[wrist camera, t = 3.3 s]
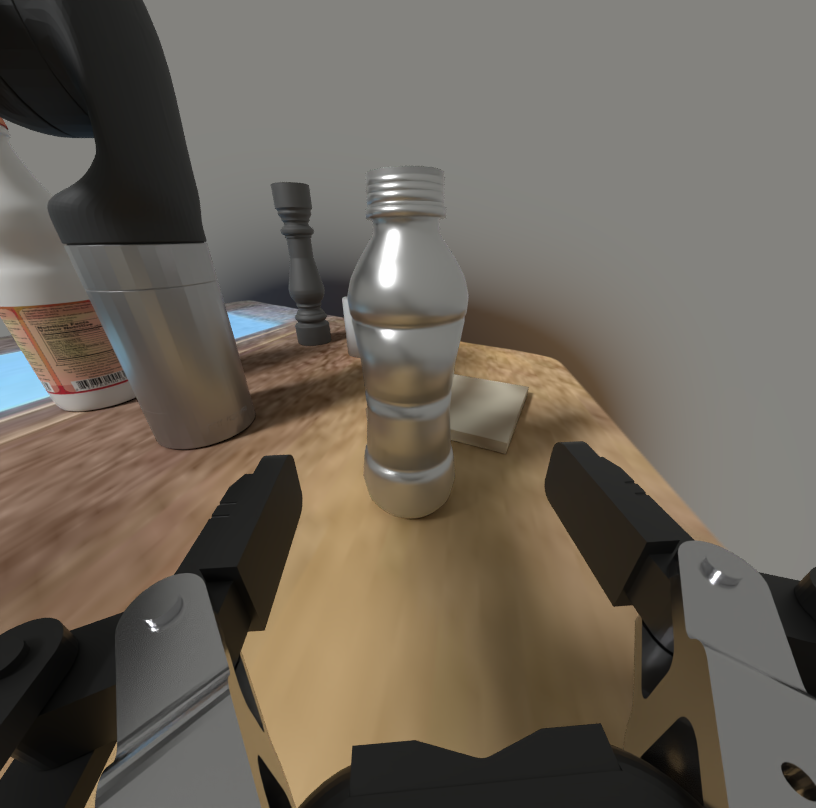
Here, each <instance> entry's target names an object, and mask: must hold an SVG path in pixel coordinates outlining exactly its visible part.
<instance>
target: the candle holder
mask: <svg viewBox="0 0 816 808" xmlns="http://www.w3.org/2000/svg"><path fill="white" fill-rule="evenodd" d="M271 188H272V194H273V199H274V205H275V209H277V211H278V215H279V216H280V217H281V219H282V221H283V222H284V227H282V229H281V233H282V234H283V235H285V238H287V244H288V249H289V255H290V272H289V293H290V295H291V297H292V298H293V300H294V301H295V302H296V303H297V307H299V310H298V312H297V315H296V316H295V319H296V320H297V321H298V323H297V324H296V325H295V327H296V332H297V338H298V343H299V344H301V345H306V346H314V345H322V344H325V343H328V342H330V341H331V334H330V327H329V322H328V321H326V320H325V319H326V317H327V315H326V313H324V311H323V310H322V309H321V308H320V306H321V300H322V299H323V296H324V286H323V283H322V280H321V278H320V275H319V272H318V269H317V267H316V264H315V261H314V258H313V252H312V245H311V239H310V238H311V235H312V234H313V233H314V230H313V229H312V228H311V227H310V226H309V225H308V222H309V218H310V216H311V212H310V211H311V209H312V205H311V197H310V190H309V185H307V184H303V183H291V182H280V183H273V184H271Z"/></svg>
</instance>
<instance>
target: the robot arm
mask: <svg viewBox="0 0 816 808" xmlns="http://www.w3.org/2000/svg"><path fill="white" fill-rule="evenodd" d="M0 117H1V118H3V119H6V120H8V121H10V122H12V123H15V124H17V125H20V126H22V127H25V128H28V129H30V130H33V131H37V132H40V133H44V134H48V135H53V136H58V137H69V138H95V144H96V155H95V158H94V160H93V162H92V164H91V166H90V168H89V169H88V171H87V172H86V174H85V175H84V176H83V177H82V178H81V179H80V180H79V181H77V182H76V183H75V184H73V185H71V186H70V187H68V188H66V189H65V190H63V191H61V192H59V193H57V194H56V195H54V196H53V197H52V198H51V199H50V200H49V201H48V204H47V209H48V213H49V216H50V219H51V221H52V223H53V226H54V228H55V230H56V232H57V234H58V236H59V238H60V240H61V242H62V243H63V244H67V245H65V246H64V248H65V250H66V252H67V254H68V256H69V258H70V260H71V262H72V264H73V266H74V268H75V271H76V273H77V275H78V277H79V279H80V281H81V283H82V285H83V287H84V289H85V291H86V293H87V295H88V297H89V299H90V301H91V304H92V306H93V308H94V310H95V312H96V314H97V316H98V318H99V320H100V322H101V325H102V327H103V329H104V331H105V333H106V335H107V337H108V339H109V341H110V343H111V346H112V348H113V350H114V352H115V354H116V356H117V358H118V360H119V362H120V364H121V367H122V369H123V371H124V373H125V375H126V377H127V379H128V381H129V383H130V385H131V388H132V390H133V392H134V394H135V396H136V398H137V400H138V402H139V404H140V407H141V409H142V411H143V413H144V415H145V417H146V420H147V422H148V424H149V426H150V428H151V430H152V432H153V434H154V436H155V438H156V440H157V442H158V443H159V444H160V445H161V446H164V447H166V448H171V449H191V448H198V447H203V446H207V445H211V444H214V443H218V442H220V441H223V440H226V439H228V438H230V437H232V436H234V435H236V434H238V433H240V432H241V431H243V430H244V429H246V428H247V427H248V426H249V425H250V424H251V423H252V422H253V420H254V418H255V410H254V407H253V403H252V400H251V396H250V392H249V389H248V385H247V381H246V378H245V374H244V371H243V367H242V364H241V360H240V356H239V353H238V349H237V346H236V342H235V339H234V335H233V332H232V328H231V325H230V321H229V318H228V314H227V311H226V307H225V304H224V300H223V297H222V293H221V289H220V286H219V282H218V280H217V276H216V272H215V269H214V266H213V262H212V258H211V255H210V251H209V248H208V244H207V243H204V242H206V237H205V234H204V230H203V226H202V220H201V209H200V200H199V196H198V190H197V186H196V183H195V179H194V175H193V171H192V167H191V162H190V158H189V154H188V150H187V146H186V141H185V136H184V132H183V127H182V123H181V118H180V114H179V109H178V105H177V100H176V96H175V92H174V88H173V84H172V80H171V76H170V72H169V69H168V65H167V62H166V59H165V56H164V52H163V49H162V46H161V43H160V40H159V38H158V35H157V33H156V30H155V28H154V26H153V23H152V21H151V18H150V16H149V14H148V11H147V9H146V6H145V4H144V2H143V0H0ZM545 492H546V496H547V499H548V501H549V502H550V504H551V506H552V507H553V509H554V511H555V512H556V514H557V515H558V517H559V519H560V520H561V522H562V524H563V525H564V527H565V528H566V530H567V532H568V533H569V535H570V537H571V538H572V540H573V541H574V543H575V545H576V546H577V548H578V550H579V551H580V553H581V555H582V556H583V558H584V559H585V561H586V563H587V564H588V566H589V568H590V569H591V571H592V572H593V574H594V576H595V577H596V579H597V581H598V582H599V584H600V585H601V587H602V589H603V590H604V592H605V594H606V595H607V597H608V599H609V600H610V602H611V603H612V605H613V607H615V606H628V605H633V606H634V608H635V609H636V611H637V612H638V614H639V615H638V616H637V618H636V621H635V647H634V685H633V705H632V711H631V715H630V718H629V721H628V724H627V728H626V732H625V738H624V745H623V750H622V749H620V748H618V747H615V746H613V745H610V743H609V741H608V739H607V737H606V734H605V732H604V730H603V728H602V725H601V723H599V724H588V725H577V726H566V727H555V728H544V729H540V730H538V731H536V732H534V733H533V734H531V735H529V736H527V737H525V738H523V739H521V740H519V741H518V742H516V743H514V744H512V745H510V746H508V747H506V748H505V749H503V750H501V751H499V752H497V753H495V754H493V755H492V756H490V757H487V758H476V757H472V756H469V755H465V754H462V753H458V752H455V751H451V750H448V749H444V748H441V747H437V746H434V745H430V744H427V743H423V742H420V741H416V740H412V741H401V742H390V743H379V744H368V745H357V746H352V761H351V765H350V766H348V767H346V768H344V769H342V770H340V771H339V772H337V773H336V774H334V775H333V776H332V777H330V778H329V779H327V780H326V781H324V782H323V783H322V784H321V785H320V786H319V787H318V788H317V789H316V790H314V791H313V792H312V793H311V794H310V795H309V796H308V797H307V798H306V799H305V801H304V802H303V803H302V804H301V805H300V806H299V807H298V808H816V567H815V568H813V569H812V570H811V571H810V572H809V573H808V574H807V575H806V576H805V577H804V578H803V579H802V580H801V581H798V580H793V579H788V578H783V577H778V576H773V575H769V574H764V573H760V572H758V571H757V570H755V569H754V568H753V567H752V566H751V565H750V564H748V563H747V562H746V561H745V560H743V559H742V558H740V557H739V556H737V555H735V554H734V553H732V552H730V551H728V550H726V549H724V548H722V547H719V546H717V545H714V544H711V543H707V542H703V541H695V540H694V539H693V538H692V537H691V536H690V535H689V534H688V533H686V532H685V531H684V530H683V529H682V528H681V527H680V526H679V525H678V524H677V523H676V522H675V521H674V520H673V519H672V518H671V517H670V516H669V515H668V514H667V513H666V512H665V511H664V510H663V509H662V508H661V507H660V506H659V505H658V504H657V503H656V502H655V501H654V500H653V499H652V498H651V497H650V496H649V495H646V492H645V491H644V490H643V489H642V488H641V487H640V486H639V485H638V484H635V483H634V480H633V479H632V478H631V477H630V476H629V475H628V474H627V473H626V472H625V471H624V470H623V469H621V468H620V467H619V466H617V465H615V464H614V463H612V462H610V461H609V460H607V459H605V458H604V457H599V456H598V455H597V454H596V453H595V452H594V450H593V449H592V448H591V447H590V446H589V445H588V444H587V443H585V442H583V441H579V442H558V443H556V444H555V445H554V447H553V451H552V454H551V458H550V462H549V466H548V470H547V474H546V478H545ZM301 511H302V491H301V487H300V483H299V479H298V475H297V470H296V466H295V462H294V459H293V456H292V455H272V456H264V457H263V458H262V459H261V461H260V462H259V464H258V466H257V468H256V469H255V471H254V473H253V474H244V475H243V476H242V477H241V478H240V479H239V480H237V481H236V482H235V483H234V484H233V485H232V486H230V487H229V489H228V490H227V492H226V493H225V495H224V497H223V498H222V500H221V501H220V505H219V506H217V508H216V509H215V511H214V513H213V514H212V518H211V519H209V520H208V522H207V524H206V525H205V527H204V528H203V530H202V532H201V533H200V535H199V536H198V538H197V539H196V541H195V543H194V544H193V546H192V547H191V549H190V551H189V552H188V554H187V555H186V557H185V559H184V560H183V562H182V563H181V565H180V566H179V568H178V570H177V571H176V573H175V574H174V575H173V576H170V577H167V578H165V579H163V580H161V581H159V582H157V583H155V584H153V585H152V586H150V587H149V588H148V589H146V590H145V591H144V592H142V593H141V594H140V595H139V596H138V597H137V598H136V599H135V600H134V601H133V602H132V603H131V604H130V605H129V606H128V607H127V609H126V610H125V611H124V612H122V613H120V614H117V615H114V616H111V617H108V618H105V619H102V620H100V621H97V622H94V623H91V624H88V625H85V626H82V627H80V628H77V629H74V630H71V631H69V630H68V629H67V628H66V627H65V626H64V625H63V624H62V623H61V622H60V621H59V620H57V619H54V618H41V619H36V620H32V621H29V622H26V623H23V624H21V625H19V626H16V627H14V628H12V629H10V630H8V631H6V632H5V633H3V634H1V635H0V771H1V769H2V768H3V766H4V765H5V763H6V762H7V760H8V759H9V758H10V756H11V757H12V758H14V760H13V762H12V763H11V765H10V766H9V768H8V769H7V770H6V772H5V773H4V775H3V776H2V778H1V779H0V808H84V807H85V805H86V803H87V801H88V799H89V797H90V795H91V793H92V791H93V789H94V787H95V785H96V783H97V781H98V779H99V777H100V775H101V773H102V771H103V769H104V767H105V765H106V763H107V761H108V758H109V756H110V754H111V752H112V750H113V748H114V746H115V744H116V742H117V754H116V758H115V760H114V762H113V763H112V764H110V765H109V766H108V767H106V769H105V770H104V771H103V773H102V775H101V777H100V779H99V782H98V787H97V791H96V799H95V808H296V806H295V803H294V800H293V797H292V794H291V791H290V788H289V785H288V782H287V779H286V777H285V774H284V771H283V768H282V766H281V763H280V761H279V758H278V756H277V753H276V751H275V749H274V747H273V744H272V741H271V739H270V736H269V733H268V730H267V727H266V724H265V721H264V718H263V715H262V712H261V709H260V706H259V703H258V700H257V697H256V694H255V691H254V688H253V685H252V682H251V679H250V676H249V673H248V670H247V666H246V663H245V660H244V657H243V654H242V652H241V649H242V646H243V644H244V641H245V638H246V635H247V632H249V631H263V630H265V627H266V624H267V621H268V618H269V615H270V611H271V608H272V605H273V602H274V599H275V595H276V592H277V589H278V586H279V582H280V579H281V576H282V573H283V570H284V566H285V563H286V560H287V557H288V554H289V550H290V547H291V544H292V541H293V538H294V534H295V531H296V528H297V525H298V521H299V518H300V515H301Z"/></svg>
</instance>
